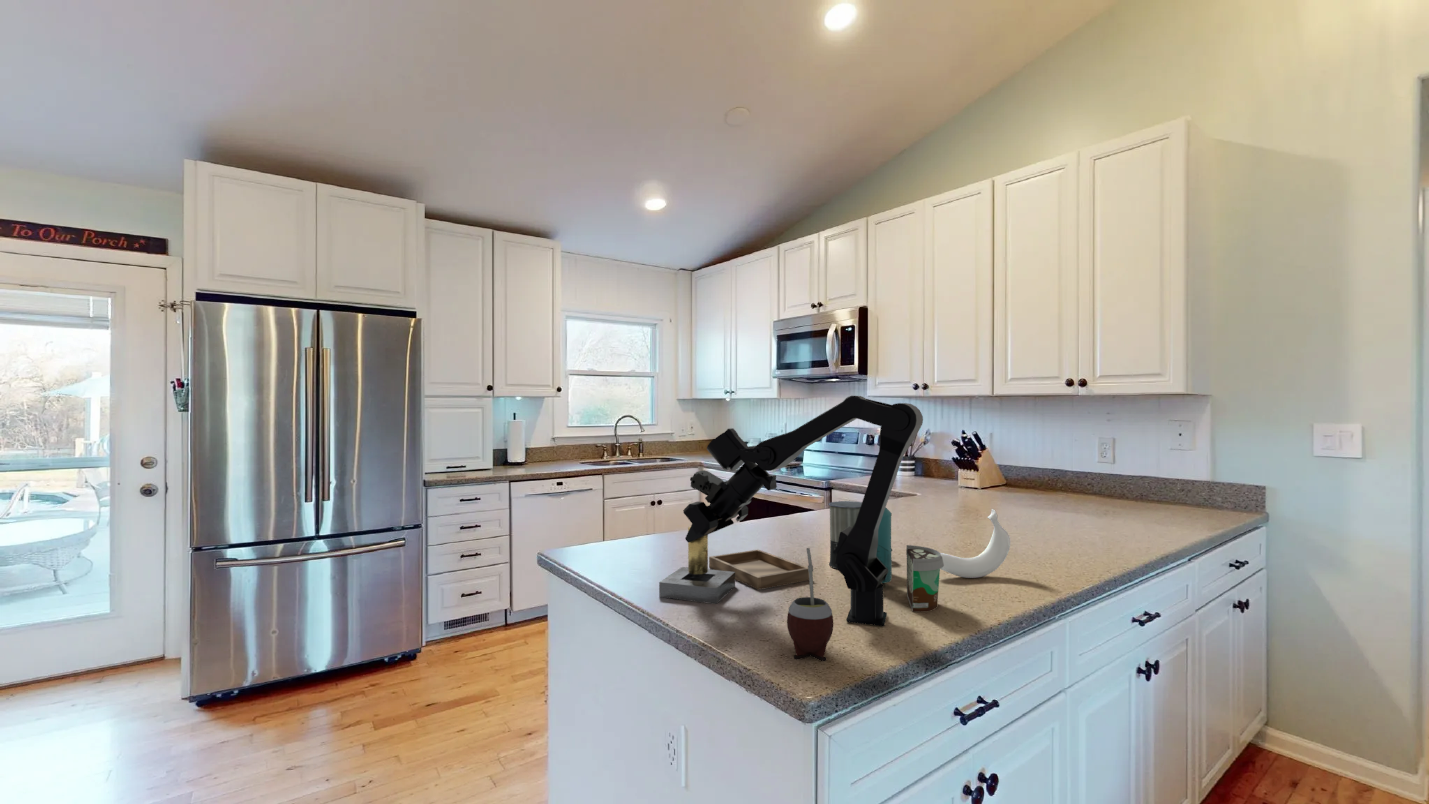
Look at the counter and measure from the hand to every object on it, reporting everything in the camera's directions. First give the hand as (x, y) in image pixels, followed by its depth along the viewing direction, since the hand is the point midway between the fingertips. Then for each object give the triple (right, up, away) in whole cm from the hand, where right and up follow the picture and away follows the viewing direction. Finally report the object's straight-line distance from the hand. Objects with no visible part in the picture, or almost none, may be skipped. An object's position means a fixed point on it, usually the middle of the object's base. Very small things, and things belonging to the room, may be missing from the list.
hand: (692, 538), depth 125 cm
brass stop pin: (+1, -7, -1) cm, 7 cm away
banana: (+61, -11, +10) cm, 63 cm away
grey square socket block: (+1, -11, -1) cm, 11 cm away
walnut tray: (+14, -11, +13) cm, 22 cm away
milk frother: (+40, -11, +21) cm, 46 cm away
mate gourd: (+19, -11, -31) cm, 38 cm away
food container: (+45, -11, -9) cm, 47 cm away
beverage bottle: (+39, -11, +3) cm, 40 cm away
